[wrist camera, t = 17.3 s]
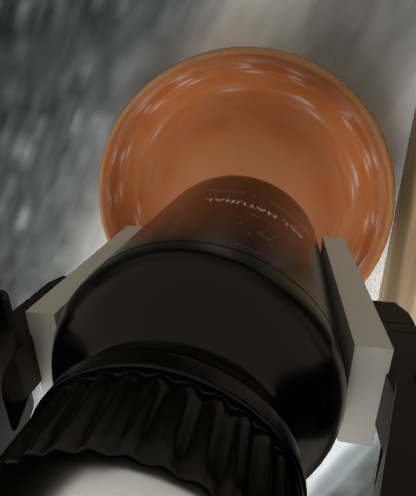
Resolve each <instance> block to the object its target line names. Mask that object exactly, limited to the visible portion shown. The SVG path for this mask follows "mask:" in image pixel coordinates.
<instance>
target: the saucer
mask: <svg viewBox="0 0 416 496" xmlns="http://www.w3.org/2000/svg"><path fill="white" fill-rule="evenodd" d="M226 175H241V176H248V177H253V178H257V179H261V180H263V181H266V182H269V183H271V184H273V185H275V186H277V187H278V188H280V189H281V190H283V191H284V192H286V193H287V194H288V195H290V196H291V197H292V198H293V199H294V200H295V201H296V202H297V203H298V204H299V205H300V207H301V208H302V209H303V211H304V212H305V213H306V215H307V217H308V219H309V220H310V222H311V224H312V227H313V229H314V231H315V235H316V238H317V242H318V245H319V249H320V253H321V245H322V237H338V238H344V239H345V241H346V244H347V246H348V248H349V250H350V253H351V255H352V257H353V259H354V261H355V264H356V266H357V268H358V270H359V273H360V275H361V277H362V279H363V281H364V282H365V281H366V279H367V278H368V277H369V275H370V274H371V272H372V271H373V269H374V268H375V266H376V264H377V263H378V261H379V259H380V257H381V254H382V252H383V250H384V248H385V245H386V243H387V239H388V236H389V233H390V229H391V226H392V221H393V215H394V206H395V181H394V172H393V167H392V162H391V158H390V154H389V151H388V148H387V145H386V142H385V140H384V137H383V135H382V133H381V131H380V129H379V127H378V125H377V123H376V122H375V120H374V118H373V116H372V115H371V113H370V112H369V110H368V109H367V107H366V106H365V105H364V104H363V102H362V101H361V100H360V99H359V98H358V97H357V95H356V94H355V93H354V92H353V91H352V90H351V89H350V88H349V87H347V86H346V85H345V84H344V83H343V82H342V81H341V80H339V79H338V78H337V77H335V76H334V75H332V74H331V73H329V72H328V71H326V70H325V69H323V68H322V67H320V66H318V65H316V64H314V63H312V62H310V61H308V60H306V59H304V58H301V57H298V56H296V55H293V54H289V53H286V52H282V51H278V50H273V49H267V48H258V47H233V48H225V49H218V50H213V51H209V52H206V53H202V54H199V55H196V56H193V57H191V58H188V59H186V60H184V61H182V62H179V63H177V64H175V65H174V66H172V67H170V68H168V69H167V70H165V71H164V72H162V73H160V74H159V75H158V76H156V77H155V78H154V79H152V80H151V81H150V82H149V83H148V84H146V85H145V86H144V87H143V88H142V89H141V90H140V91H139V92H138V93H137V94H136V95H135V96H134V97H133V98H132V99H131V101H130V102H129V103H128V104H127V106H126V107H125V108H124V110H123V111H122V113H121V114H120V116H119V118H118V119H117V121H116V123H115V125H114V127H113V129H112V131H111V134H110V136H109V138H108V141H107V143H106V146H105V149H104V153H103V157H102V161H101V166H100V172H99V184H98V196H99V208H100V214H101V219H102V224H103V228H104V231H105V234H106V237H107V240H108V241H110V240H111V239H112V238H113V237H114V236H116V235H117V234H118V233H119V232H120V231H122V230H123V229H124V228H125V227H126V226H145V225H146V224H147V223H148V222H149V221H150V220H151V219H152V218H154V217H155V216H156V215H157V214H158V213H159V212H160V211H161V210H163V209H164V208H165V207H166V206H167V205H168V204H169V203H170V202H172V201H173V200H174V199H175V198H176V197H178V196H179V195H180V194H181V193H183V192H184V191H185V190H187V189H188V188H190V187H192V186H193V185H195V184H197V183H199V182H202V181H204V180H207V179H210V178H214V177H219V176H226Z"/></svg>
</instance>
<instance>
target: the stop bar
mask: <svg viewBox="0 0 416 496" xmlns="http://www.w3.org/2000/svg"><path fill="white" fill-rule="evenodd" d="M378 301H384V302H395V303H396V304H398V305H399V306H400V307H402V308H403V309H404V310H406V311H407V312H408V313H409V315H410V316H411V318H412V320H413V321H414V323H415V326H416V109H415V114H414V119H413V124H412V129H411V134H410V140H409V145H408V150H407V155H406V160H405V165H404V170H403V176H402V181H401V186H400V191H399V196H398V201H397V207H396V212H395V217H394V222H393V227H392V232H391V237H390V243H389V248H388V253H387V258H386V263H385V268H384V273H383V279H382V284H381V289H380V294H379V299H378Z"/></svg>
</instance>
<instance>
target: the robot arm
mask: <svg viewBox="0 0 416 496" xmlns="http://www.w3.org/2000/svg"><path fill="white" fill-rule="evenodd" d="M142 227H143V226H126V227H125V228H124V229H123V230H122V231H120V232H119V233H118V234H117V235H116V236H114V237H113V238H112V239H111V240H110V241H108V242H107V243H106V244H105V245H104V246H103V247H101V248H100V249H99V250H98V251H97V252H95V253H94V254H93V255H92V256H91V257H89V258H88V259H87V260H86V261H85V262H84V263H82V264H81V265H80V266H79V267H78V268H76V269H75V270H74V271H73V272H72V273H70V274H69V275H68V276H62V277H59V278H57V279H55V280H53V281H51V282H48V283H47V284H46V285H45V286H43V287H42V288H41V289H40V290H38V292H36V293H35V294H33V295H32V296H31V297H30V299H27V300H26V301H25V302H23V303H22V304H21V305H20V306H18V307H17V308H16V309H15V310H13V311H12V307H11V303H10V299H9V295H8V294H7V293H6V292H5V291H3V290H0V456H1V454H2V453H3V452H4V451H5V449H6V448H7V447H8V446H9V444H10V443H11V442H12V441H13V439H14V438H15V437H16V436H17V434H18V433H19V432H20V431H21V429H22V428H23V427H24V426H25V424H26V423H27V422H28V421H29V419H30V416H31V413H32V410H33V405H34V400H33V396H32V391H33V390H34V389H35V388H36V386H37V385H38V384H39V383H40V382H41V385H42V389H43V394H44V395H45V394H46V393H47V391H48V390H49V389H50V388H51V386H52V385H53V382H52V371H51V355H52V345H53V340H54V334H55V331H56V327H57V324H58V321H59V318H60V316H61V314H62V311H63V309H64V307H65V305H66V304H67V302H68V301H69V299H70V297H71V296H72V295H73V293H74V292H75V291H76V290H77V288H78V287H79V286H80V285H81V284H82V283H83V282H84V281H85V280H86V279H87V277H88V276H89V275H90V274H91V273H92V272H93V271H95V270H96V269H97V268H98V267H99V266H100V265H101V264H102V263H103V262H104V261H105V260H106V259H108V258H109V257H110V256H111V255H112V254H113V253H114V252H115V251H117V250H118V249H119V248H120V247H121V246H122V245H123V244H124V243H126V242H127V241H128V240H129V239H130V238H131V237H132V236H133V235H135V234H136V233H137V232H138V231H139V230H140V229H141V228H142ZM320 254H321V258H322V263H323V267H324V272H325V276H326V281H327V285H328V290H329V294H330V299H331V303H332V308H333V313H334V317H335V322H336V326H337V331H338V335H339V340H340V344H341V349H342V354H343V360H344V365H345V373H346V384H347V400H346V409H345V414H344V419H343V422H342V425H341V428H340V431H339V434H338V436H337V438H338V441H341V442H348V443H355V444H362V445H369V446H372V444H373V440H374V435H375V431H376V429H377V433H378V436H379V440H380V443H381V448H380V452H379V456H378V461H377V465H376V469H375V473H374V477H373V481H372V483H373V490H372V495H371V496H416V326H415V323H414V321H413V320H412V318H411V316H410V315H409V313H408V312H407V311H406V310H404V309H403V308H402V307H400V306H399V305H398V304H396V303H395V302H384V301H372V299H371V297H370V295H369V293H368V290H367V288H366V286H365V284H364V281H363V279H362V277H361V275H360V273H359V270H358V268H357V266H356V264H355V261H354V259H353V257H352V255H351V253H350V250H349V248H348V246H347V244H346V241H345V239H344V238H338V237H322V245H321V253H320Z"/></svg>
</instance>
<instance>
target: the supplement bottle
mask: <svg viewBox="0 0 416 496" xmlns="http://www.w3.org/2000/svg"><path fill="white" fill-rule="evenodd" d="M51 371H52V382H53V385H52V386H51V388H50V389H49V390H48V391H47V393H46V394H45V395H44V396H43V398H42V399H41V400H40V402H39V403H38V405H37V406H36V408H35V410H34V413H33V415H32V417H31V418H30V419H29V421H28V422H27V423H26V424H25V426H24V427H23V428H22V429H21V431H20V432H19V433H18V434H17V436H16V437H15V438H14V439H13V441H12V442H11V443H10V444H9V446H8V447H7V448H6V449H5V451H4V452H3V453H2V454H1V456H0V496H307V488H306V479H307V478H308V477H309V476H310V475H311V474H312V473H313V472H314V471H315V470H316V469H317V468H318V466H319V465H320V464H321V463H322V462H323V460H324V459H325V457H326V456H327V454H328V453H329V451H330V450H331V448H332V446H333V444H334V442H335V440H336V438H337V436H338V434H339V431H340V428H341V425H342V422H343V419H344V414H345V409H346V400H347V384H346V373H345V365H344V360H343V354H342V349H341V344H340V340H339V335H338V331H337V326H336V322H335V317H334V313H333V308H332V303H331V299H330V294H329V290H328V285H327V281H326V276H325V272H324V267H323V263H322V258H321V254H320V249H319V245H318V242H317V238H316V235H315V231H314V229H313V227H312V224H311V222H310V220H309V219H308V217H307V215H306V213H305V212H304V211H303V209H302V208H301V207H300V205H299V204H298V203H297V202H296V201H295V200H294V199H293V198H292V197H291V196H290V195H288V194H287V193H286V192H284V191H283V190H281V189H280V188H278V187H277V186H275V185H273V184H271V183H269V182H266V181H263V180H261V179H257V178H253V177H248V176H241V175H226V176H219V177H214V178H210V179H207V180H204V181H202V182H199V183H197V184H195V185H193V186H192V187H190V188H188V189H187V190H185V191H184V192H183V193H181V194H180V195H179V196H178V197H176V198H175V199H174V200H173V201H172V202H170V203H169V204H168V205H167V206H166V207H165V208H164V209H163V210H161V211H160V212H159V213H158V214H157V215H156V216H155V217H154V218H152V219H151V220H150V221H149V222H148V223H147V224H146V225H145V226H143V227H142V228H141V229H140V230H139V231H138V232H137V233H136V234H135V235H133V236H132V237H131V238H130V239H129V240H128V241H127V242H126V243H124V244H123V245H122V246H121V247H120V248H119V249H118V250H117V251H115V252H114V253H113V254H112V255H111V256H110V257H109V258H108V259H106V260H105V261H104V262H103V263H102V264H101V265H100V266H99V267H98V268H97V269H96V270H95V271H93V272H92V273H91V274H90V275H89V276H88V277H87V279H86V280H85V281H84V282H83V283H82V284H81V285H80V286H79V287H78V288H77V290H76V291H75V292H74V293H73V295H72V296H71V297H70V299H69V301H68V302H67V304H66V305H65V307H64V309H63V311H62V314H61V316H60V318H59V321H58V324H57V327H56V331H55V334H54V340H53V345H52V355H51Z"/></svg>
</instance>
